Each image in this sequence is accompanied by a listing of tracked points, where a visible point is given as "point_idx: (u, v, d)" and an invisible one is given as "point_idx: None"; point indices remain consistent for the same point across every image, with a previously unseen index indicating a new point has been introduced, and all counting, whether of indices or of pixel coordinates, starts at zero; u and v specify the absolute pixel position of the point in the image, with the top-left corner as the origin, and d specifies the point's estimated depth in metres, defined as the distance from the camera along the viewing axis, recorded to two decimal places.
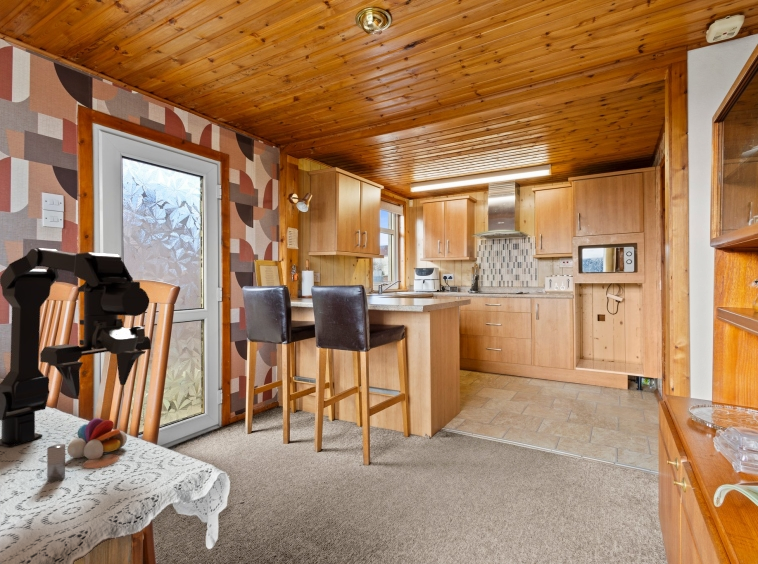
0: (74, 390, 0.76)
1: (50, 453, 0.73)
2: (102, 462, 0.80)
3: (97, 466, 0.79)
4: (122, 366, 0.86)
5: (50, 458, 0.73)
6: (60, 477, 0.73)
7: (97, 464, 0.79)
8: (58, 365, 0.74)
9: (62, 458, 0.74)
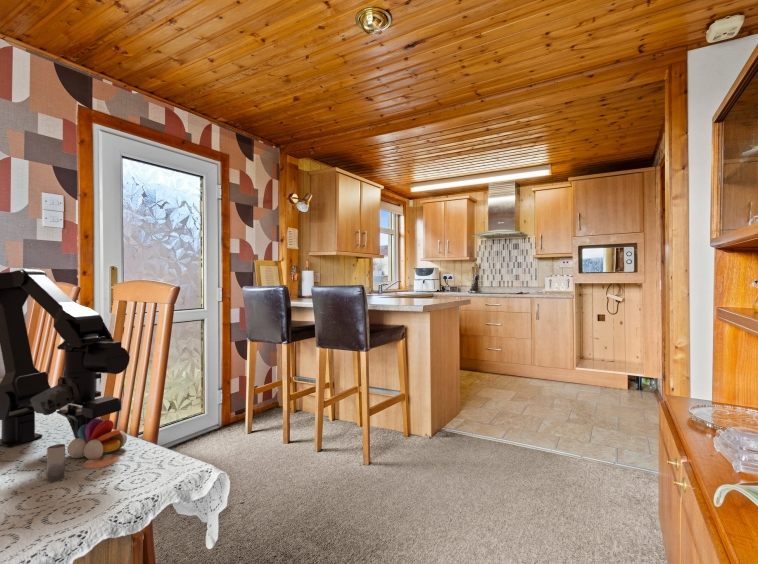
0: None
1: (50, 453, 0.73)
2: (102, 462, 0.80)
3: (97, 466, 0.79)
4: None
5: (50, 459, 0.73)
6: (60, 477, 0.73)
7: (97, 464, 0.79)
8: None
9: (62, 458, 0.74)
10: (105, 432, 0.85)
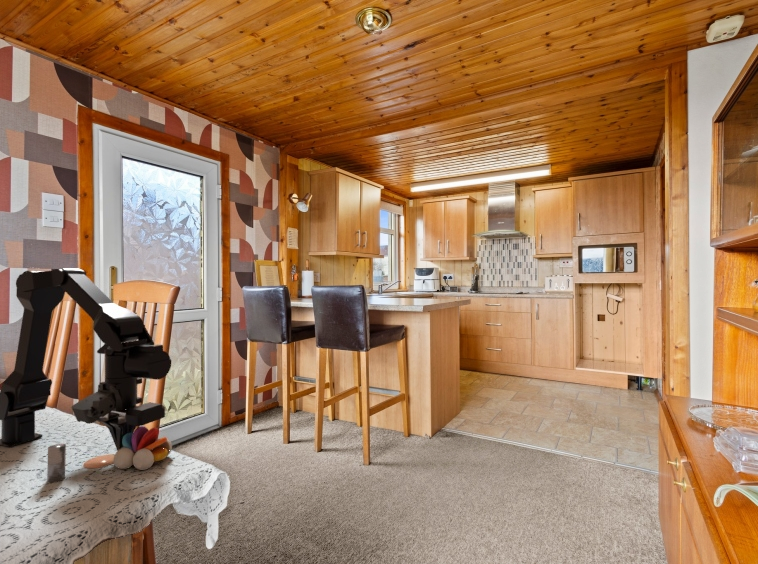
0: None
1: (51, 452, 0.73)
2: (102, 462, 0.80)
3: (97, 466, 0.79)
4: None
5: (51, 458, 0.73)
6: (60, 477, 0.73)
7: (97, 464, 0.79)
8: None
9: (63, 458, 0.74)
10: (151, 440, 0.81)
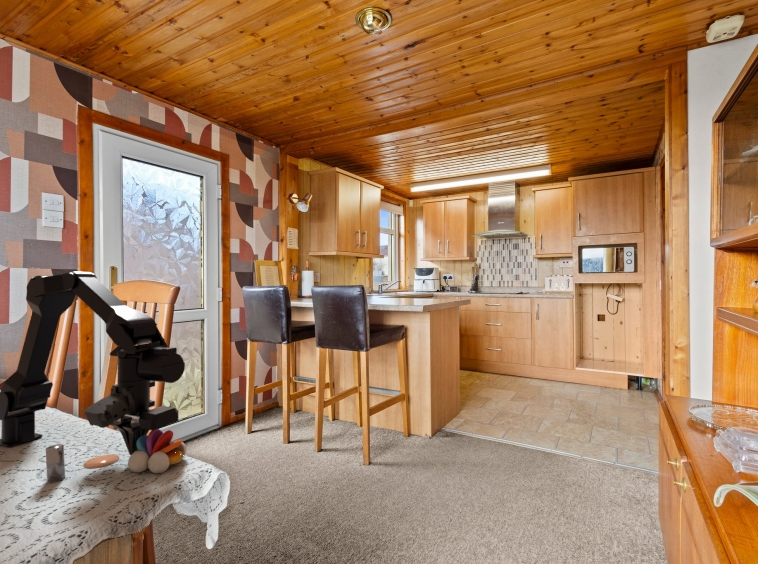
0: None
1: (49, 453, 0.72)
2: (102, 462, 0.80)
3: (97, 466, 0.79)
4: None
5: (50, 459, 0.72)
6: (60, 476, 0.73)
7: (97, 464, 0.79)
8: None
9: (62, 458, 0.74)
10: (166, 443, 0.80)
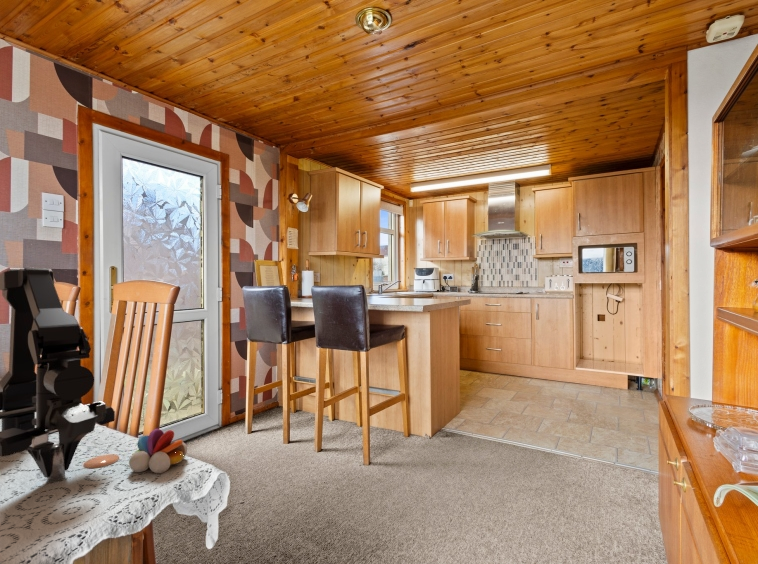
0: (45, 471, 0.72)
1: (51, 452, 0.73)
2: (102, 462, 0.80)
3: (97, 466, 0.79)
4: (64, 448, 0.76)
5: (52, 457, 0.73)
6: (62, 475, 0.74)
7: (97, 464, 0.79)
8: None
9: (63, 456, 0.74)
10: (167, 443, 0.80)
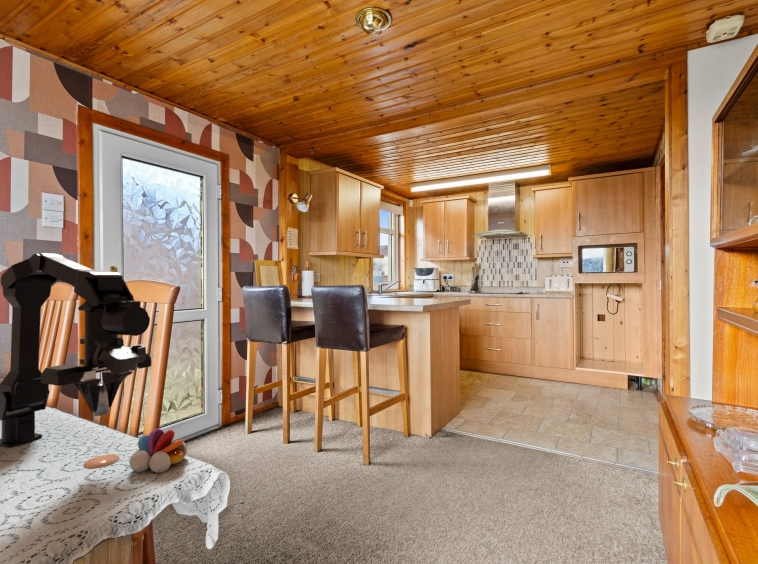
0: (92, 406, 0.79)
1: (98, 389, 0.80)
2: (102, 462, 0.80)
3: (97, 466, 0.79)
4: (108, 388, 0.83)
5: (98, 394, 0.80)
6: (107, 411, 0.81)
7: (97, 464, 0.79)
8: (77, 382, 0.76)
9: None
10: (167, 443, 0.80)
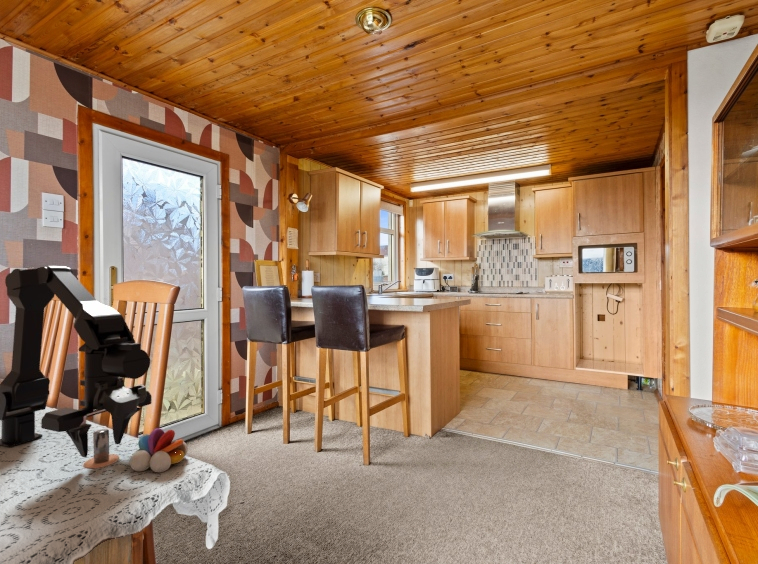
0: (82, 451, 0.77)
1: (98, 437, 0.80)
2: None
3: (97, 466, 0.79)
4: (117, 425, 0.85)
5: (99, 442, 0.80)
6: (107, 458, 0.81)
7: (97, 464, 0.79)
8: None
9: (108, 441, 0.81)
10: (167, 443, 0.80)
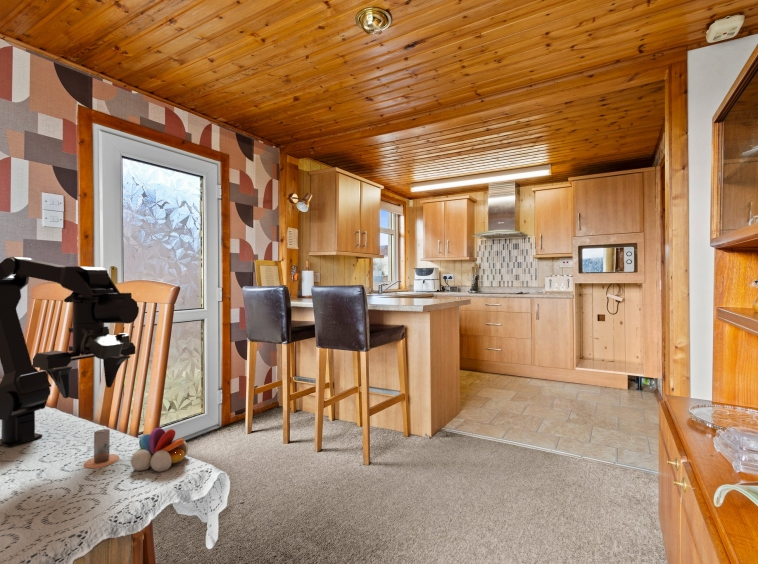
0: (64, 392, 0.84)
1: (99, 437, 0.80)
2: None
3: (97, 466, 0.79)
4: (108, 370, 0.93)
5: (100, 442, 0.80)
6: (107, 458, 0.81)
7: (97, 464, 0.79)
8: (49, 370, 0.81)
9: (109, 441, 0.81)
10: (168, 442, 0.81)
